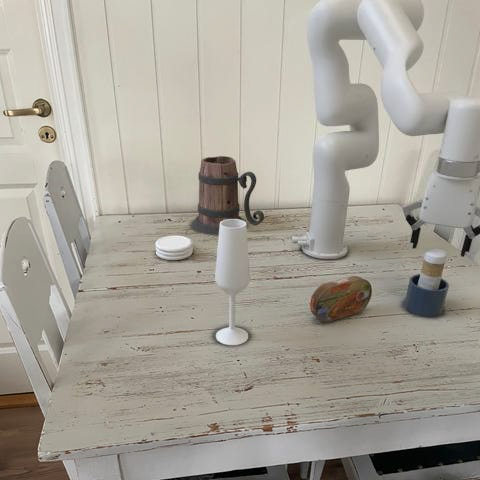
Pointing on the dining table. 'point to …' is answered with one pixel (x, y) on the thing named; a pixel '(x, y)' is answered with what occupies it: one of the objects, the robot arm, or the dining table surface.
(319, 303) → the tin
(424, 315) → the cup
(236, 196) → the tankard
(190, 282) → the dining table surface
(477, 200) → the robot arm
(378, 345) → the dining table surface
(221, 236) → the champagne flute
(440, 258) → the sprinkles bottle
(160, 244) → the white round stack
